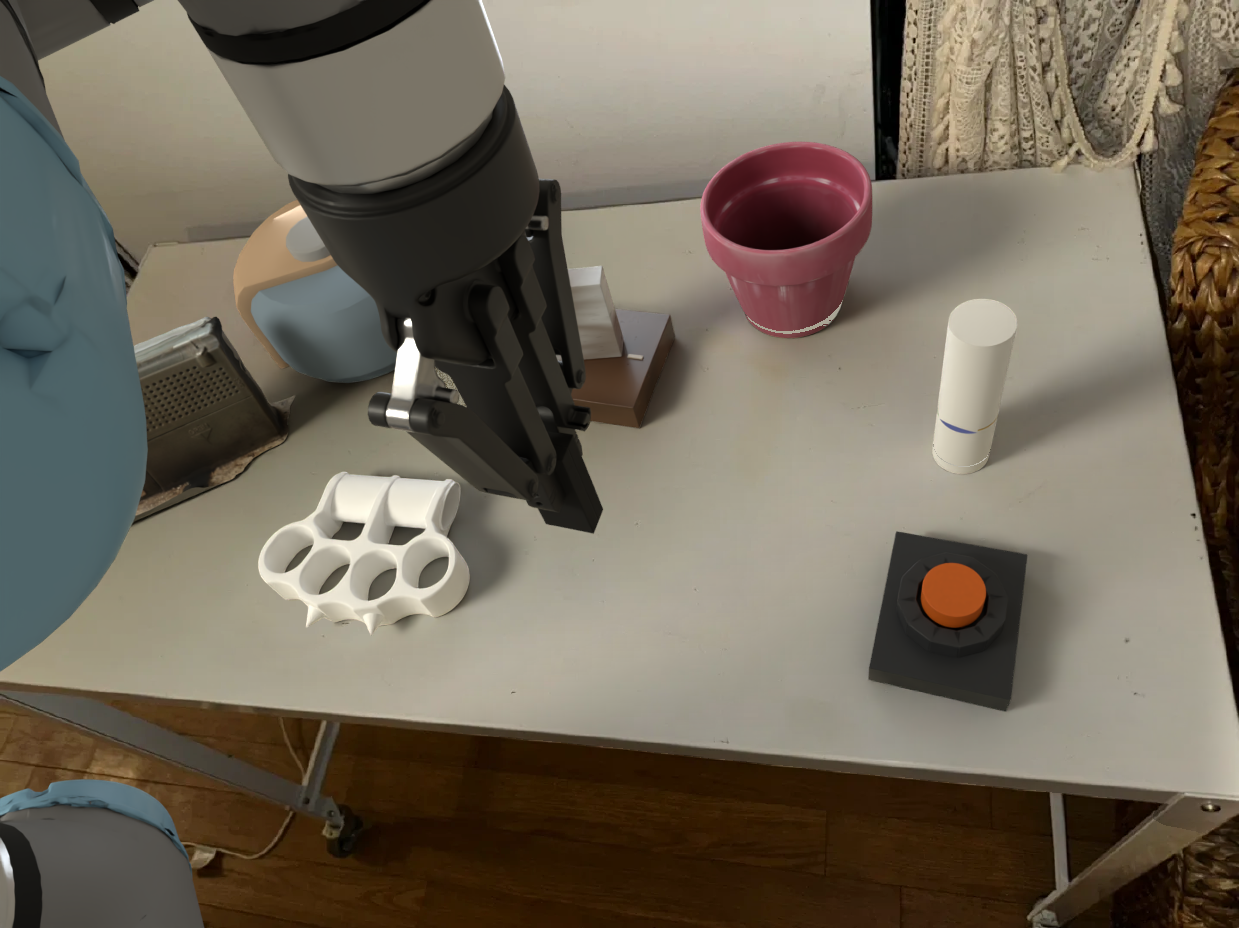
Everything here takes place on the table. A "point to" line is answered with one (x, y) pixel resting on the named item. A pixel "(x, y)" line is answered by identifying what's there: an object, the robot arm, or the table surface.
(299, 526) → the white brass knuckles
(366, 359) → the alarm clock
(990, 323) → the tube
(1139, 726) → the table surface
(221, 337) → the radio
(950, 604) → the button
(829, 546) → the table surface
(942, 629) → the button box
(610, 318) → the red-tipped white block
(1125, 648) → the table surface
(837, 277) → the flower pot
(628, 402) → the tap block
